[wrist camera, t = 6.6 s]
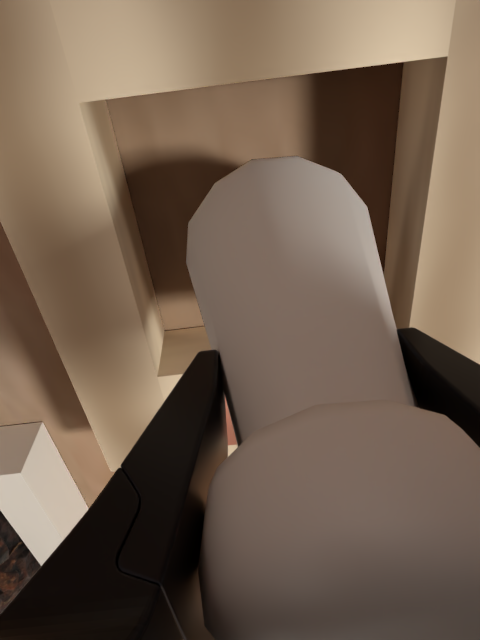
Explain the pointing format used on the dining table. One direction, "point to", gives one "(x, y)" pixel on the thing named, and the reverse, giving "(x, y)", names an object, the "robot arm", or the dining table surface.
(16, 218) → the maple frame
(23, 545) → the camouflage shoe
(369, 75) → the dining table surface
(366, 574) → the salt shaker
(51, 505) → the white rectangular tray
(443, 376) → the robot arm
